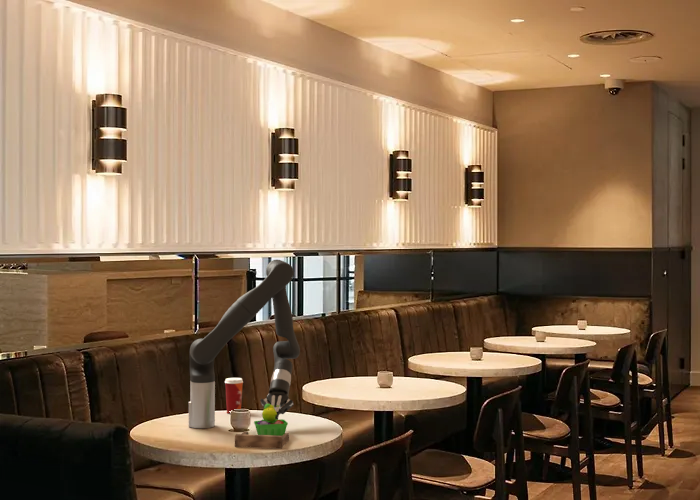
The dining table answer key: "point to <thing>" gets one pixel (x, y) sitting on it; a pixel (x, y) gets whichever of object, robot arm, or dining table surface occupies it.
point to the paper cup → (233, 393)
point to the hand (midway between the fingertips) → (273, 422)
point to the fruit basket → (270, 423)
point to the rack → (261, 440)
